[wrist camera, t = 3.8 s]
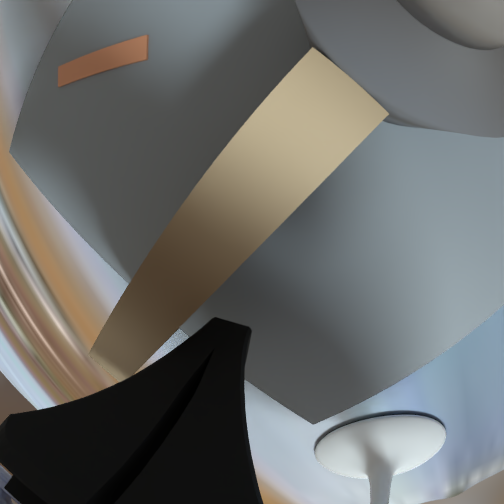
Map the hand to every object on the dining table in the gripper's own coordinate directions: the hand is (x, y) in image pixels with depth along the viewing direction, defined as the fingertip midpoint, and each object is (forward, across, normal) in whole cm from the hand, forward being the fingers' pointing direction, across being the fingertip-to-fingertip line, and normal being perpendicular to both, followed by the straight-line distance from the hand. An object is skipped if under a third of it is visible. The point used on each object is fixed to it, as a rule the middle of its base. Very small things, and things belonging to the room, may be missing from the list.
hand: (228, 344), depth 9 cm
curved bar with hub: (+1, -1, -7) cm, 8 cm away
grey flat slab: (+3, -1, -9) cm, 9 cm away
